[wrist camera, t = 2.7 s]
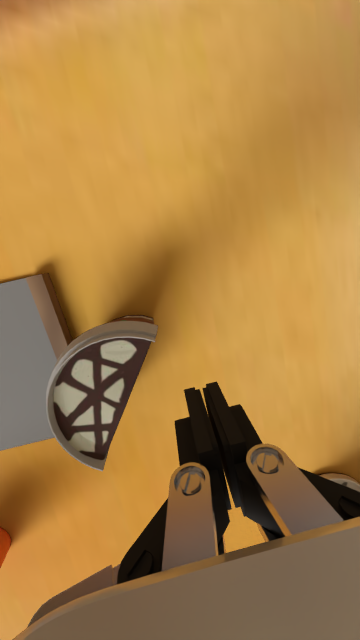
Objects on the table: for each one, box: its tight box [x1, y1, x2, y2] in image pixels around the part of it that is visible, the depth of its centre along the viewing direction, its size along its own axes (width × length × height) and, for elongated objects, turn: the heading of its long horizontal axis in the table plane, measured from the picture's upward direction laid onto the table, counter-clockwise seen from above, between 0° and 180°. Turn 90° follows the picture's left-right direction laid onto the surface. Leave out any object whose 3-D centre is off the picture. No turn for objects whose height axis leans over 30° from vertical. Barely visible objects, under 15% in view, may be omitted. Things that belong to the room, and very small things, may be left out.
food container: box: [46, 315, 158, 471], centre depth 22 cm, size 12×6×10 cm, turn 158°
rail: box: [26, 273, 72, 360], centre depth 26 cm, size 2×18×2 cm, turn 12°
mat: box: [0, 278, 57, 451], centre depth 26 cm, size 11×18×1 cm, turn 12°
